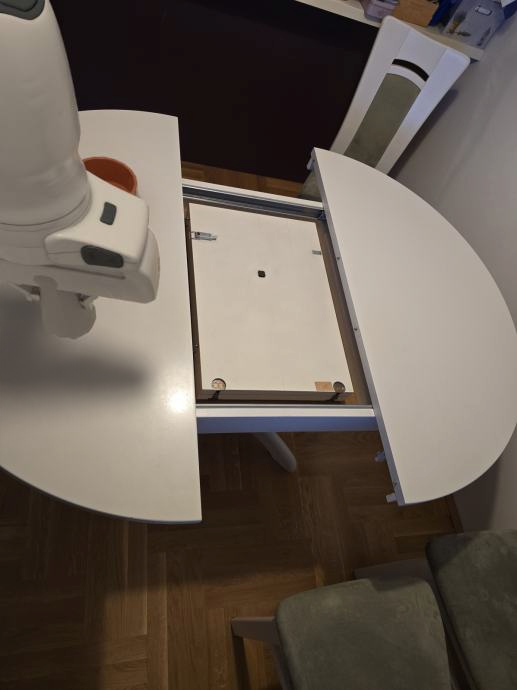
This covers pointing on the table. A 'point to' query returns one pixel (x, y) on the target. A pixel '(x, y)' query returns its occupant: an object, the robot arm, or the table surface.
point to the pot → (113, 173)
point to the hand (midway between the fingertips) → (62, 300)
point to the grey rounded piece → (63, 310)
